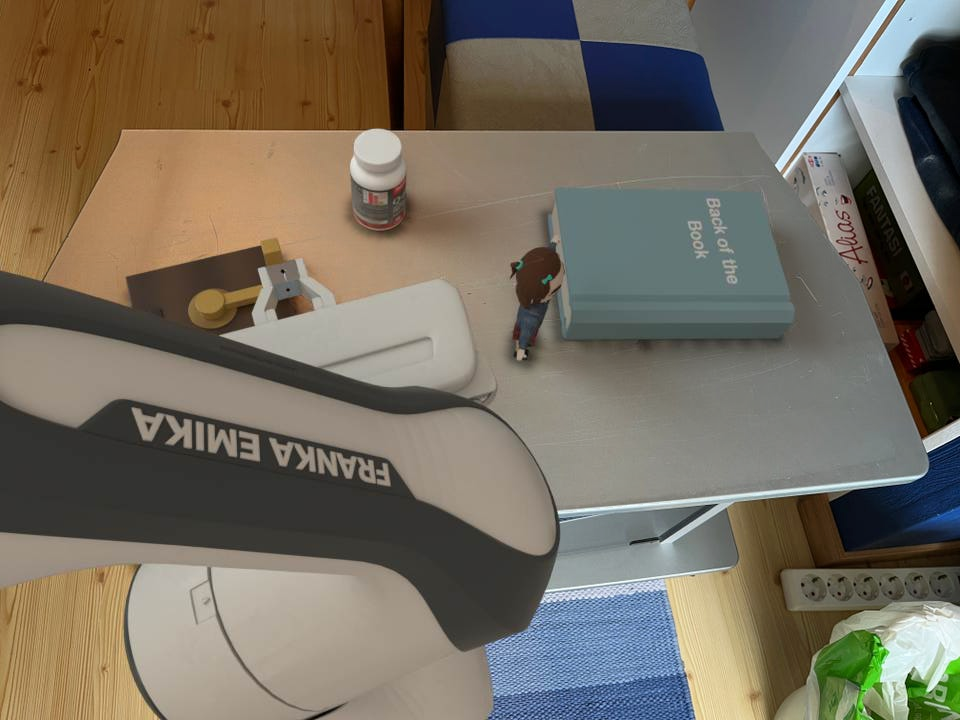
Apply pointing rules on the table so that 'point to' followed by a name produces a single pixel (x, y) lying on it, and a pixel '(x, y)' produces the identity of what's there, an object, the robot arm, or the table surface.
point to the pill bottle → (378, 180)
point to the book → (668, 265)
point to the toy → (535, 292)
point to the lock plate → (202, 290)
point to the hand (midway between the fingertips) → (281, 267)
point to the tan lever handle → (216, 303)
